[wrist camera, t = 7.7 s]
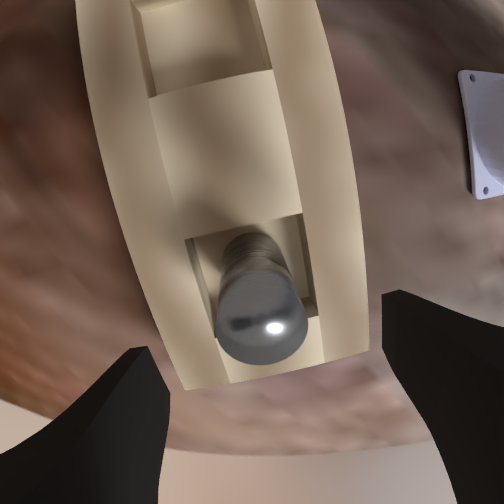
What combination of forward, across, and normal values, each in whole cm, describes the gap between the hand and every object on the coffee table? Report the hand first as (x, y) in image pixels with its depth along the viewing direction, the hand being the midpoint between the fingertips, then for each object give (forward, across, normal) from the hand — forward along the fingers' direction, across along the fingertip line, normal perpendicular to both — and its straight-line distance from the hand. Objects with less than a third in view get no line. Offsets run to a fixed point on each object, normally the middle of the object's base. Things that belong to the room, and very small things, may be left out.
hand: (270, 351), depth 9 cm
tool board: (+8, 0, -6) cm, 10 cm away
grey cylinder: (+7, 0, 0) cm, 7 cm away
